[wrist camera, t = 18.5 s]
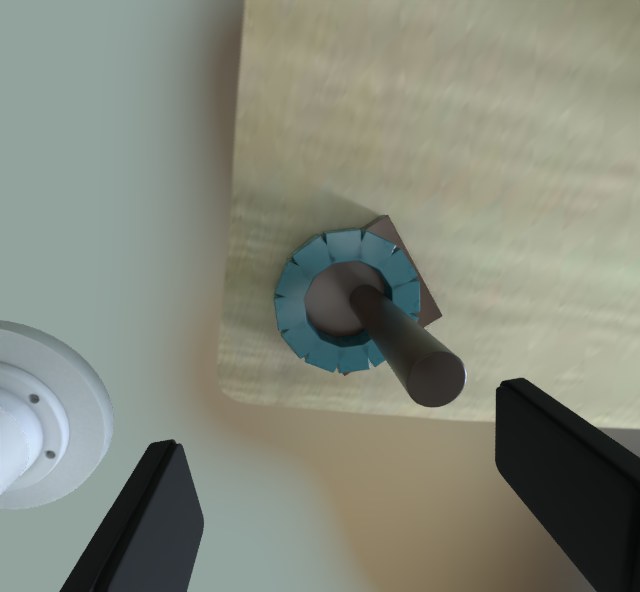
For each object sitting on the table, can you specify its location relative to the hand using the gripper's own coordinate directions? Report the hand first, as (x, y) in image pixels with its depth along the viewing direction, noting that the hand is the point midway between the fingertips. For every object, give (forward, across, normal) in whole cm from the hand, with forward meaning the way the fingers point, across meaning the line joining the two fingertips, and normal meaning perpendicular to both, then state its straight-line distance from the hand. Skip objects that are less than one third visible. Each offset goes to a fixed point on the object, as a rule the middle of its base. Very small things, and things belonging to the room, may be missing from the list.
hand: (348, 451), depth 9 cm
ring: (+15, -2, 0) cm, 15 cm away
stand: (+16, -4, 0) cm, 17 cm away
